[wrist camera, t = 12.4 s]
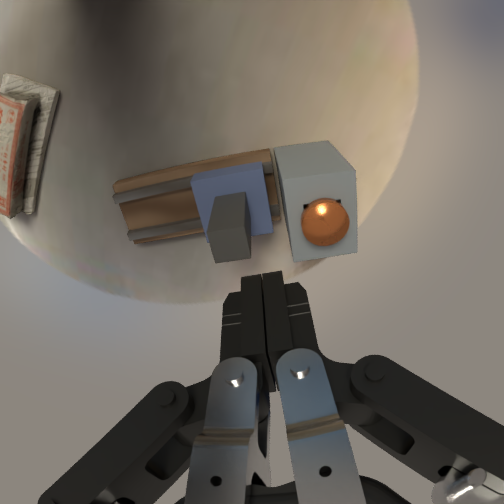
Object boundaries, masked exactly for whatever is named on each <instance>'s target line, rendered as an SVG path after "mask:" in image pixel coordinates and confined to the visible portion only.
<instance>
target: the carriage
mask: <svg viewBox="0 0 504 504" xmlns="http://www.w3.org/2000/svg"><path fill="white" fill-rule="evenodd" d="M190 183H191V186H192V190H193V194H194V197H195V201H196V204H197V208H198V212H199V215H200V219H201V222H202V226H203V229H204V233H205V236H206V239H207V243H210V247H211V250H212V254H213V257H214V260H215V263H222V262H229V261H235V260H242V259H249V258H251V236H254V235H261V234H267V233H274V232H273V224H272V218H271V212H270V206H269V200H268V194H267V188H266V183H265V177H264V171H263V166H262V161H260V162H254V163H248V164H242V165H237V166H231V167H226V168H220V169H215V170H210V171H205V172H200V173H195V174H194V175H193V177H192V179H191V181H190Z"/></svg>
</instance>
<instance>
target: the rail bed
mask: <svg viewBox="0 0 504 504" xmlns="http://www.w3.org/2000/svg"><path fill="white" fill-rule="evenodd" d="M260 161H262V166H263V171H264V177H265V183H266V188H267V194H268V200H269V206H270V212H271V218H272V221H275V220H281V218H280V211H279V205H278V199H277V192H276V186H275V180H274V174H273V167H272V162H271V156H270V150H269V149H263V150H257V151H251V152H245V153H239V154H234V155H228V156H223V157H218V158H213V159H208V160H203V161H198V162H193V163H188V164H184V165H179V166H175V167H171V168H166V169H162V170H158V171H154V172H150V173H146V174H142V175H138V176H134V177H130V178H126V179H122V180H119V181H117V182H116V183H115V184H114V185H113V189H114V192H115V194H114V195H113V198H114V201H115V204H118V203H119V205H120V208H121V211H122V213H123V216H124V218H125V221H126V224H127V226H128V229H129V231H128V233H127V235H128V237H129V240H130V241H131V240H133V241H134V244H138V243H144V242H149V241H155V240H161V239H166V238H172V237H178V236H183V235H189V234H195V233H201V232H204V229H203V226H202V222H201V219H200V215H199V212H198V208H197V204H196V201H195V197H194V194H193V190H192V186H191V183H190V181H191V179H192V177H193V175H194V174H195V173H200V172H205V171H210V170H215V169H220V168H226V167H231V166H237V165H242V164H248V163H254V162H260Z"/></svg>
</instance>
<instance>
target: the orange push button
mask: <svg viewBox="0 0 504 504" xmlns="http://www.w3.org/2000/svg"><path fill="white" fill-rule="evenodd" d="M304 207H305V209H304V210H303V212H302V214H301V219H300V222H301V227H302V231H303V234H304V236H305V237H306V239H307V240H308V241H309V242H311V243H313V244H315V245H318V246H329V245H332V244H335V243H337V242H339V241H340V240H341V239H342V238H343V237H344V236H345V235H346V233H347V231H348V229H349V224H350V221H349V216H348V214H347V212H346V210H345V208H344V207H343V205H342V204H341V203H340V202H338V201H337V200H334V199H331V198H320V199H316V200H314V201H312V202H311V203H309V204H304Z"/></svg>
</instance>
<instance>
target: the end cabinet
mask: <svg viewBox="0 0 504 504" xmlns="http://www.w3.org/2000/svg"><path fill="white" fill-rule="evenodd" d="M274 153H275V159H276V165H277V171H278V178H279V184H280V190H281V197H282V204H283V211H284V216H285V221H286V226H287V231H288V236H289V241H290V246H291V251H292V256H293V261H294V262H299V261H306V260H312V259H319V258H325V257H332V256H338V255H344V254H351V253H357V191H356V170H355V169H354V168H353V167H352V166H351V164H350V163H349V162H348V161H347V160H346V159H345V158H344V157H343V156H342V155H341V154H340V152H339V151H338V150H337V149H336V148H335V147H334V146H333V145H332V144H331V143H330V142H329V141H320V142H312V143H304V144H296V145H289V146H282V147H275V148H274ZM320 198H331V199H334V200H337V201H338V202H340V203H341V204H342V205H343V207H344V208H345V210H346V212H347V214H348V216H349V221H350V224H349V229H348V231H347V233H346V235H345V236H344V237H343V238H342V239H341V240H340V241H339V242H337V243H335V244H332V245H329V246H318V245H315V244H313V243H311V242H309V241H308V240H307V239H306V237H305V236H304V234H303V231H302V227H301V222H300V219H301V214H302V212H303V210H304V209H305V207H304V204H309V203H311V202H312V201H314V200H316V199H320Z"/></svg>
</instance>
